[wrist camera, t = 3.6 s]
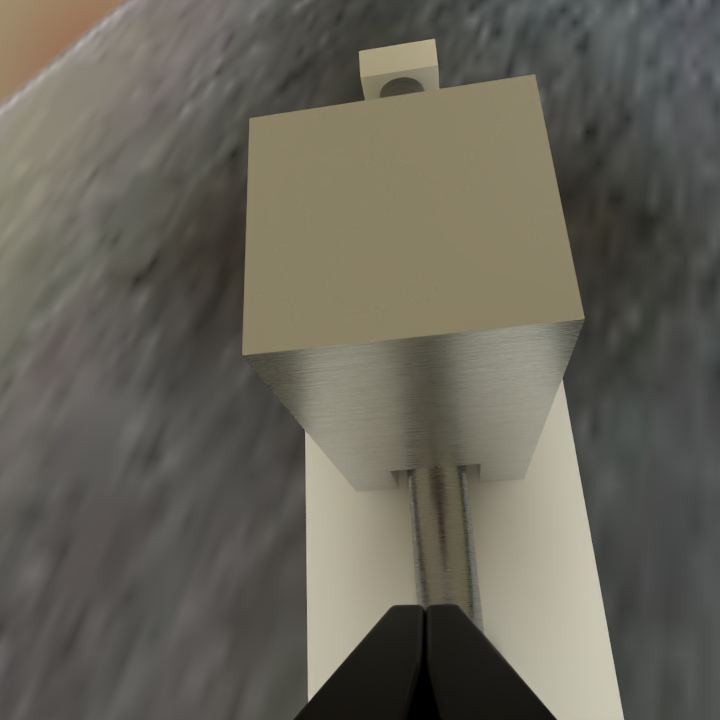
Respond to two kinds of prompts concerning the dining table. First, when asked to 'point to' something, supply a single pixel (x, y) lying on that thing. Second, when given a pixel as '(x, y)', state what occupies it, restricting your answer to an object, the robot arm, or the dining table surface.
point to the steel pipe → (441, 510)
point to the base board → (491, 539)
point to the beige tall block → (411, 278)
